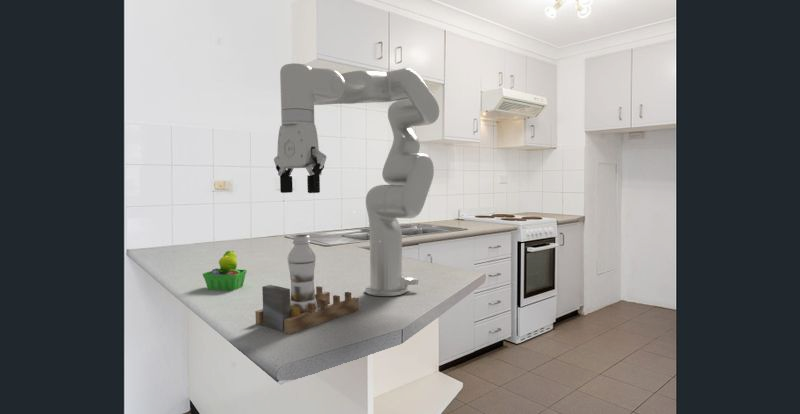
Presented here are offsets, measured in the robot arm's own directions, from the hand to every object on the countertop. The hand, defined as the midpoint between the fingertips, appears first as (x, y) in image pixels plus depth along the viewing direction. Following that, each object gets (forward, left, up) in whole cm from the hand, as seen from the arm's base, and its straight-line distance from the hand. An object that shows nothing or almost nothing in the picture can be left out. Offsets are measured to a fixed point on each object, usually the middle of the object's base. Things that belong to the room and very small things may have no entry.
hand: (299, 192), depth 103 cm
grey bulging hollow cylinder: (0, 0, -30) cm, 30 cm away
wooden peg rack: (-1, -1, -30) cm, 30 cm away
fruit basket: (+27, -36, -31) cm, 54 cm away
